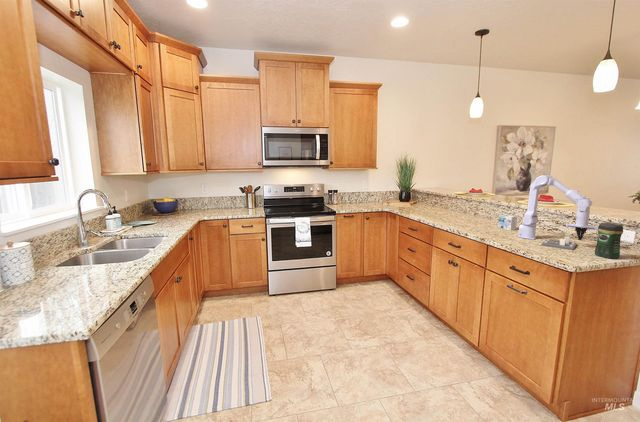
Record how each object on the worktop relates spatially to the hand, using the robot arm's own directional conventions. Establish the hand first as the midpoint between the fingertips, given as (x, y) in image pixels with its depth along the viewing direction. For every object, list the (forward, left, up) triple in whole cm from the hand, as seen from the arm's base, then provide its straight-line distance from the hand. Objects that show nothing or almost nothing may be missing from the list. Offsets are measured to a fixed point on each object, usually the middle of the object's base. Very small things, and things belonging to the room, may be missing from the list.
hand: (579, 239), depth 180 cm
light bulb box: (-46, +28, -5) cm, 54 cm away
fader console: (-9, -4, -4) cm, 11 cm away
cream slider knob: (-6, 0, -3) cm, 7 cm away
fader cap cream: (-7, -8, -3) cm, 11 cm away
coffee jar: (+13, -16, -5) cm, 21 cm away
